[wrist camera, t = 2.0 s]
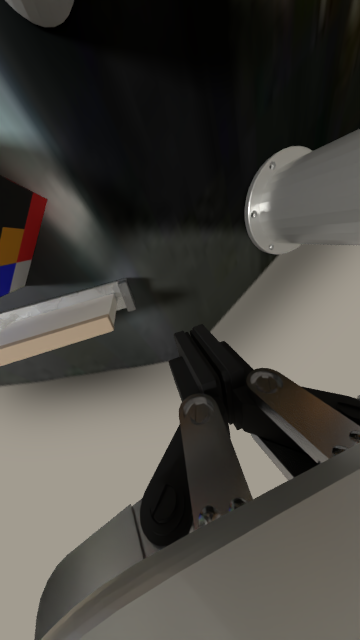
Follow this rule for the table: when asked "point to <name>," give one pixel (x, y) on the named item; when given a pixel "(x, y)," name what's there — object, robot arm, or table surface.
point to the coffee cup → (43, 10)
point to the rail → (72, 301)
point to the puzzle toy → (17, 232)
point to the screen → (57, 328)
